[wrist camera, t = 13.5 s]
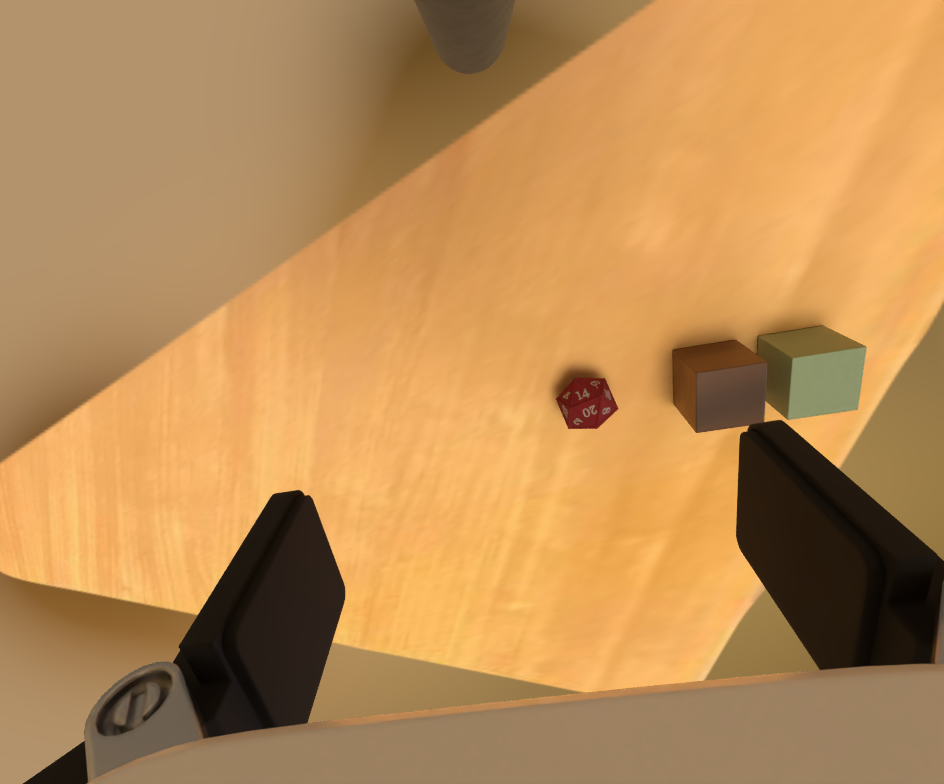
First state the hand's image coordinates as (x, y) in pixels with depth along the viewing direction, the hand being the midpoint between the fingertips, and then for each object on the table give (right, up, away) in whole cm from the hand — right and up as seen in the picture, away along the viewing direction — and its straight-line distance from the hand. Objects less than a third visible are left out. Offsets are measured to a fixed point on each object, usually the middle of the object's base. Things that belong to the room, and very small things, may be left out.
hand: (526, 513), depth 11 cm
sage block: (+22, +5, +26) cm, 35 cm away
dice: (+7, +3, +28) cm, 29 cm away
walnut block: (+16, +4, +27) cm, 31 cm away
